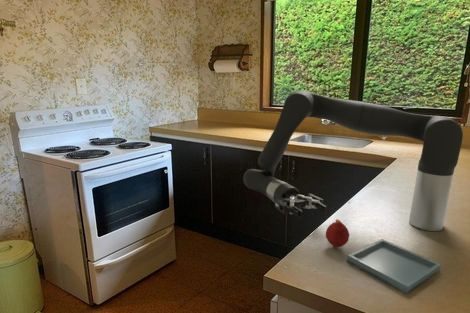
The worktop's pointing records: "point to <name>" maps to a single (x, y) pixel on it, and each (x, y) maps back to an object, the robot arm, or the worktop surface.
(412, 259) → the dish
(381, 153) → the worktop surface
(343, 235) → the onion
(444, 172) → the robot arm
